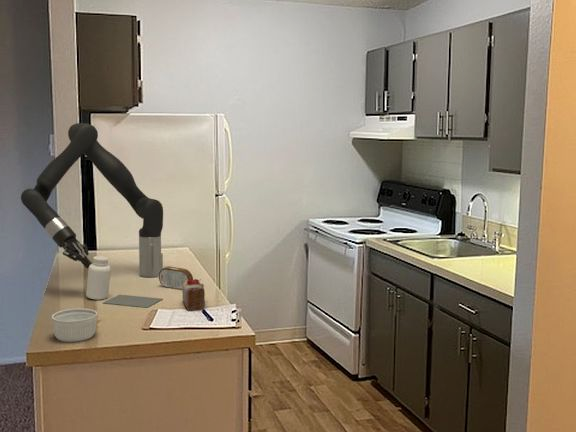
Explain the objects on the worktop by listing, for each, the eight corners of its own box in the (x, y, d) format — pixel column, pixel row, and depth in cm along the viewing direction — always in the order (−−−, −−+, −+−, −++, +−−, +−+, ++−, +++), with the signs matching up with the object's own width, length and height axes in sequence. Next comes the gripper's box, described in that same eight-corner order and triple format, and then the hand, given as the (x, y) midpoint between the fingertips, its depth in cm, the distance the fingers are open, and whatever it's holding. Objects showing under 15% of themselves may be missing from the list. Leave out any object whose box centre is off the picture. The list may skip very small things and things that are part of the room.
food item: (180, 301, 233) (180, 275, 232) (202, 300, 236) (202, 274, 234) (185, 311, 220) (185, 284, 219) (208, 310, 223) (208, 283, 221)
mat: (102, 303, 228) (102, 302, 228) (119, 295, 240) (119, 294, 240) (147, 308, 224) (147, 307, 224) (162, 299, 235) (162, 298, 235)
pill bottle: (88, 291, 239) (92, 253, 236) (109, 294, 240) (114, 256, 237) (83, 298, 231) (87, 259, 229) (105, 301, 232) (110, 262, 229)
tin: (193, 289, 250) (193, 269, 249) (189, 291, 247) (189, 270, 246) (162, 285, 256) (162, 265, 255) (157, 287, 254) (157, 266, 252)
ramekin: (71, 346, 184) (71, 323, 183) (42, 338, 190) (41, 315, 190) (107, 334, 195) (106, 312, 194) (78, 327, 202) (77, 305, 201)
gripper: (55, 228, 229) (85, 263, 227) (76, 223, 242) (105, 256, 240) (43, 241, 231) (73, 277, 229) (65, 236, 244) (94, 269, 242)
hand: (90, 266), depth 235 cm, fingers closed
